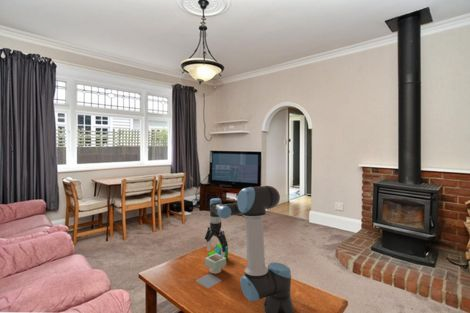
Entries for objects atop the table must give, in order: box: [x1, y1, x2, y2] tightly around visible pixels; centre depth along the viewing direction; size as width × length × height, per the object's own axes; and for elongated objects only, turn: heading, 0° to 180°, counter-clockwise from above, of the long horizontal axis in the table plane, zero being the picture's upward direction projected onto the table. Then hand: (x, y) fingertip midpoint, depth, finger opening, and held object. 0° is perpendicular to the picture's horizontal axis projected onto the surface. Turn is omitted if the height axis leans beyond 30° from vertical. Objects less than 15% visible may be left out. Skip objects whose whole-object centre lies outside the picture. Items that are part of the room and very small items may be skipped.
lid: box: [204, 253, 227, 270], centre depth 168 cm, size 10×10×5 cm
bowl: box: [209, 267, 222, 275], centre depth 168 cm, size 8×8×4 cm
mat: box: [194, 272, 223, 289], centre depth 156 cm, size 12×12×1 cm
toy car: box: [207, 243, 229, 260], centre depth 184 cm, size 10×13×10 cm
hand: (215, 253), depth 167 cm, fingers open, 13 cm apart
